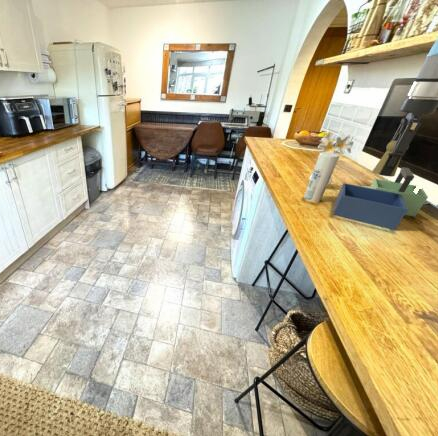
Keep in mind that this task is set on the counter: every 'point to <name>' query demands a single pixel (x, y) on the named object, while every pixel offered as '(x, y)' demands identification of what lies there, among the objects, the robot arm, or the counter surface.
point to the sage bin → (403, 190)
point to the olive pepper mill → (384, 159)
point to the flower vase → (341, 144)
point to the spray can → (321, 176)
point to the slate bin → (370, 206)
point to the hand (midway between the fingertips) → (383, 172)
